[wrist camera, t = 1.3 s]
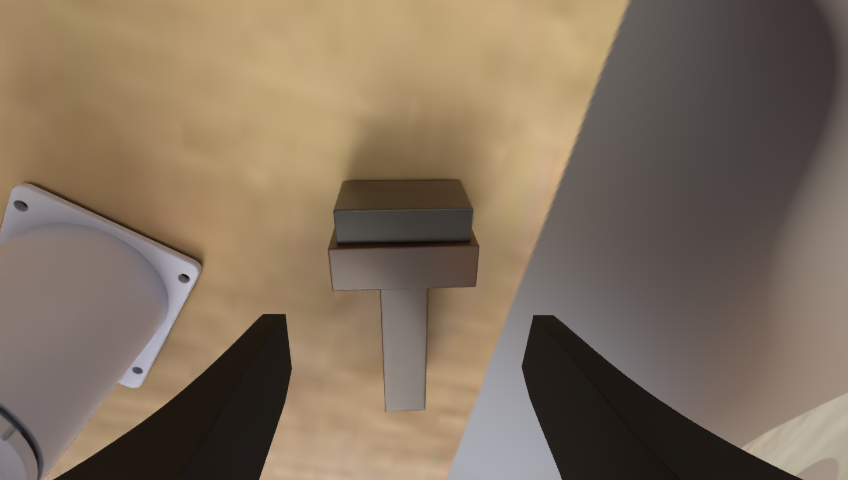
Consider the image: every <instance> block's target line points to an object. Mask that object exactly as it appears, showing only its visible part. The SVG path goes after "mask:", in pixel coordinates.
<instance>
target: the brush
mask: <svg viewBox="0 0 848 480" xmlns="http://www.w3.org/2000/svg"><path fill="white" fill-rule="evenodd" d="M333 213H334V224H335V227H334V231H333V234H332V238H331V241H330V244H329V248H328V255H329V264H330V274H331V283H332V290H333V291H347V290H380V297H381V321H382V345H383V369H384V393H385V412H400V411H420V410H425V398H426V355H427V313H428V288H453V287H475V286H476V279H477V268H478V257H479V244H478V242H477V239H476V237H475V235H474V232H473V230H472V220H473V207H472V205H471V203H470V201H469V199H468V196H467V194H466V192H465V190H464V188H463V186H462V184H461V182H460V181H459V180H448V181H344V182H343V183H342V186H341V189H340V192H339V195H338V198H337V201H336V204H335V207H334V211H333Z"/></svg>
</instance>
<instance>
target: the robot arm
mask: <svg viewBox="0 0 848 480" xmlns="http://www.w3.org/2000/svg"><path fill="white" fill-rule="evenodd" d="M22 201H23V202H24V203H26V205H27V206H28V208H27V207H26V206H24V205H23V204H22ZM201 269H202V268H201V265H200V264H199V262H197V261H196V260H194V259H192V258H190V257H188V256H185V255H183V254H181V253H179V252H177V251H175V250H172V249H170V248H168V247H166V246H164V245H162V244H159V243H157V242H155V241H153V240H151V239H149V238H146V237H144V236H142V235H140V234H138V233H136V232H133V231H131V230H129V229H127V228H125V227H123V226H121V225H118V224H116V223H114V222H112V221H110V220H108V219H105V218H103V217H101V216H99V215H97V214H95V213H92V212H90V211H88V210H86V209H84V208H82V207H79V206H77V205H75V204H73V203H71V202H69V201H66V200H64V199H62V198H60V197H58V196H56V195H53V194H51V193H49V192H47V191H45V190H43V189H40V188H38V187H36V186H34V185H31V184H28V183H22V184H20V185H17V186H15V187H13V188H12V190H11V193H10V197H9V200H8V204H7V208H6V211H5V215H4V219H3V222H2V226H1V230H0V480H43V479H44V478H45V477H46V476H47V474H48V473H49V472H50V471H51V469H52V468H53V467H54V465H55V464H56V463H57V462H58V460H59V459H60V458H61V456H62V455H63V454H64V453H65V451H66V450H67V449H68V447H69V446H70V445H71V444H72V442H73V441H74V440H75V439H76V437H77V436H78V435H79V433H80V432H81V431H82V430H83V428H84V427H85V426H86V424H87V423H88V422H89V421H90V419H91V418H92V417H93V415H94V414H95V413H96V412H97V410H98V409H99V408H100V406H101V405H102V404H103V403H104V401H105V400H106V399H107V397H108V396H109V395H110V394H111V392H112V391H113V390H114V388H115V387H116V386H117V385H118V383H119V384H122V385H124V386H127V387H131V388H137V387H140V386H141V385H142V383H143V382H144V380H145V378H146V376H147V375H148V373H149V371H150V369H151V367H152V365H153V363H154V361H155V359H156V357H157V355H158V353H159V351H160V350H161V348H162V346H163V344H164V342H165V340H166V338H167V336H168V334H169V332H170V330H171V328H172V327H173V325H174V323H175V321H176V319H177V317H178V315H179V313H180V311H181V309H182V307H183V305H184V303H185V302H186V300H187V298H188V296H189V294H190V292H191V290H192V288H193V286H194V284H195V282H196V280H197V278H198V277H199V275H200V273H201ZM182 274H186V275H187V276H189V279H188V278H185V277H184V276H183V275H182ZM291 370H292V366H291V357H290V348H289V340H288V331H287V323H286V314H263V315H262V316H261V317H260V318H258V319H257V320H256V321H255V322H254V323H253V324H252V325H251V326H250V328H249V329H248V330H247V331H246V332H245V333H244V334H243V335H242V336H241V337H240V338H239V339H238V340H237V341H236V342H235V343H234V344H233V345H232V346H231V347H230V348H229V349H228V350H227V351H225V352H224V353H223V354H222V355H221V356H220V357H219V358H218V359H217V360H216V361H215V362H214V363H213V364H212V365H211V366H210V367H209V368H208V369H206V370H205V371H204V372H203V373H202V374H201V375H200V376H199V377H197V378H196V379H195V380H194V381H193V382H192V383H191V384H189V385H188V386H187V387H186V388H185V389H184V390H183V391H181V392H180V393H179V394H178V395H177V396H175V397H174V398H173V399H172V400H170V401H169V402H168V403H167V404H166V405H164V406H163V407H162V408H160V409H159V410H158V411H156V412H155V413H154V414H152V415H151V416H150V417H148V418H147V419H146V420H144V421H143V422H142V423H140V424H139V425H137V426H136V427H135V428H133V429H132V430H130V431H129V432H127V433H126V434H124V435H123V436H121V437H120V438H118V439H117V440H115V441H114V442H112V443H111V444H109V445H108V446H106V447H105V448H103V449H102V450H100V451H99V452H97V453H96V454H94V455H93V456H91V457H90V458H88V459H87V460H85V461H83V462H82V463H80V464H78V465H77V466H75V467H74V468H72V469H70V470H69V471H67V472H65V473H64V474H62V475H60V476H59V477H57V478H55V479H54V480H259V478H260V475H261V472H262V469H263V466H264V463H265V460H266V457H267V455H268V452H269V449H270V446H271V443H272V440H273V437H274V434H275V431H276V428H277V425H278V422H279V419H280V416H281V413H282V410H283V407H284V404H285V400H286V395H287V390H288V386H289V381H290V376H291ZM522 370H523V374H524V378H525V382H526V386H527V389H528V393H529V397H530V400H531V403H532V405H533V408H534V410H535V413H536V416H537V418H538V421H539V423H540V426H541V428H542V431H543V433H544V435H545V438H546V440H547V443H548V445H549V448H550V450H551V453H552V455H553V458H554V460H555V463H556V465H557V468H558V470H559V472H560V475H561V478H562V480H802V479H800V478H798V477H796V476H794V475H791V474H789V473H787V472H785V471H783V470H781V469H779V468H777V467H775V466H773V465H771V464H769V463H767V462H765V461H763V460H761V459H759V458H757V457H755V456H753V455H751V454H749V453H747V452H746V451H744V450H742V449H740V448H738V447H736V446H734V445H732V444H731V443H729V442H727V441H725V440H723V439H722V438H720V437H718V436H716V435H715V434H713V433H711V432H710V431H708V430H706V429H704V428H703V427H701V426H699V425H698V424H696V423H694V422H693V421H691V420H689V419H688V418H686V417H685V416H683V415H681V414H680V413H678V412H677V411H675V410H674V409H672V408H671V407H669V406H668V405H666V404H665V403H663V402H662V401H660V400H659V399H657V398H656V397H654V396H653V395H651V394H650V393H649V392H647V391H646V390H644V389H643V388H642V387H640V386H639V385H638V384H636V383H635V382H634V381H632V380H631V379H630V378H628V377H627V376H626V375H624V374H623V373H622V372H621V371H619V370H618V369H617V368H616V367H614V366H613V365H612V364H611V363H609V362H608V361H607V360H606V359H604V358H603V357H602V356H601V355H600V354H598V353H597V352H596V351H595V350H594V349H593V348H591V347H590V346H589V345H588V344H587V343H586V342H584V341H583V340H582V339H581V338H580V337H579V336H577V335H576V334H575V333H574V332H573V331H571V330H570V329H569V328H568V327H567V326H566V325H565V324H563V323H562V322H561V321H560V320H558V319H557V318H556V317H555V316H553V315H534V316H533V320H532V324H531V328H530V333H529V337H528V342H527V346H526V350H525V355H524V360H523V364H522Z"/></svg>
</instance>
